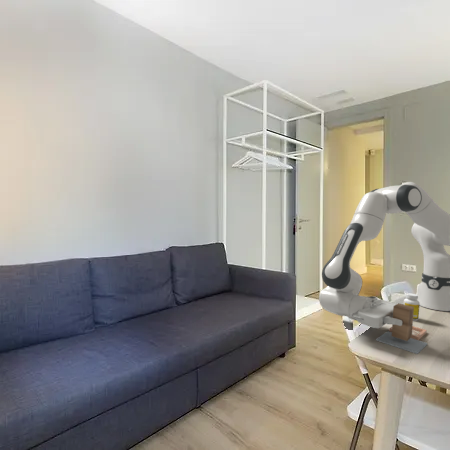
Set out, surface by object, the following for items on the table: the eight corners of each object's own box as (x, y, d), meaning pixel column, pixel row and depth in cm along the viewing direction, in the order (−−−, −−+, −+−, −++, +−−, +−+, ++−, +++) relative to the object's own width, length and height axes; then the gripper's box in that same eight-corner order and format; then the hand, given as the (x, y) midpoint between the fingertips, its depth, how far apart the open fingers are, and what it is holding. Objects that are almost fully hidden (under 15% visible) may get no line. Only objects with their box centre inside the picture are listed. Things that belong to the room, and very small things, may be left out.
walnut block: (396, 332, 103) (398, 303, 103) (411, 337, 100) (413, 306, 99) (391, 336, 100) (393, 306, 100) (406, 340, 97) (409, 309, 96)
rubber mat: (387, 332, 108) (387, 331, 108) (427, 344, 99) (427, 343, 99) (375, 340, 101) (376, 339, 101) (417, 354, 93) (417, 352, 93)
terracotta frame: (398, 325, 115) (398, 322, 115) (426, 333, 109) (426, 330, 108) (389, 331, 109) (389, 328, 109) (418, 340, 102) (418, 337, 102)
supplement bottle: (420, 322, 119) (422, 297, 119) (405, 320, 120) (407, 295, 120) (415, 317, 125) (416, 293, 124) (400, 315, 126) (402, 292, 125)
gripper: (349, 306, 102) (394, 318, 92) (375, 295, 116) (416, 304, 106) (348, 325, 103) (393, 339, 92) (374, 311, 116) (415, 322, 106)
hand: (405, 320), depth 99 cm, fingers closed on walnut block, 4 cm apart
